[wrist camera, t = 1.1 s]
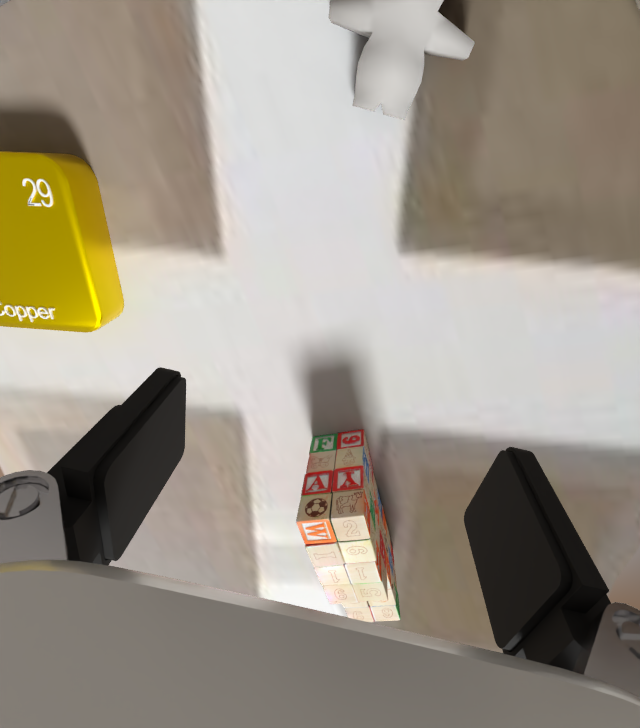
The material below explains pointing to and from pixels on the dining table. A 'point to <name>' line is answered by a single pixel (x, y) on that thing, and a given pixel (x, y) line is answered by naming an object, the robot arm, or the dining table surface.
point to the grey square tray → (1, 0)
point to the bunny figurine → (397, 47)
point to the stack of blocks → (348, 528)
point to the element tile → (54, 245)
